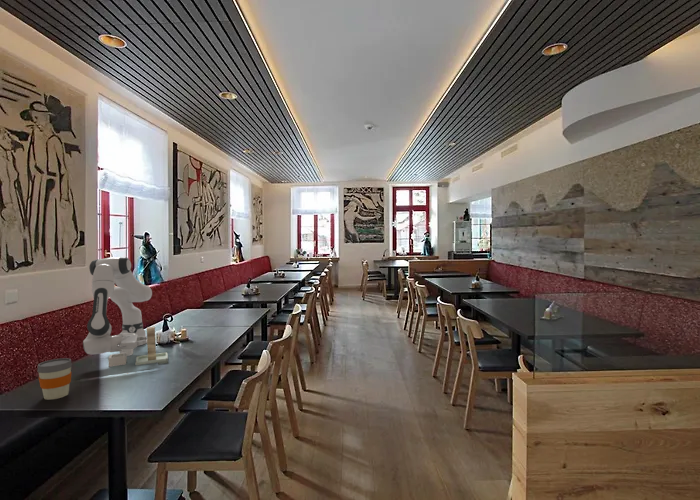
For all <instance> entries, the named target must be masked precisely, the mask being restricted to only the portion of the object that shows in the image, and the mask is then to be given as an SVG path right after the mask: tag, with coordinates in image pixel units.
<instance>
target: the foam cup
mask: <svg viewBox="0 0 700 500" xmlns="http://www.w3.org/2000/svg"><path fill="white" fill-rule="evenodd" d="M133 334H135V333H123V335H133ZM118 353H119V354H120V353H126V354H127V357H131V356H132V355H133V354H134V349H122V351H118Z"/></svg>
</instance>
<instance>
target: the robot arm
mask: <svg viewBox="0 0 700 500" xmlns="http://www.w3.org/2000/svg"><path fill="white" fill-rule="evenodd" d="M88 267H89V273H90V275H91V276H92V280H91V292H92V297H93V303H92V304H93V305H92V306H93V307H92V314H91V316H90V318H89V319H88V321H87V326H86V329H87V331H88V334H87V336H86V338H84V340H82V347H83V350H84V352H85V353H86V355H100V354H105V353H119V351H122V349H133V350H134V349H137V347H139V346H142V345H143V346H144V345H145V344H146V345H147V332H146V330H145V329H144V323H143V319H142V318H143V317H142V311H141V309H140V308H138V307H136V306H135V305H134V304H133V303H144V302H147V301H149V300H151V298H152V296H153V290H152V288H151V287H150V285H149V286H148V285H146V284H143V283H142V282H140V281H139V280H138V279H137V278H136V277H135V275H134V273H133V272H132V262H131V259H130V258H128V257H126V256H116V257H115V256H111V257H106V258H105V257H104V258H101V259H99V258H97V259H94V260H92V261H91V262H90V264H89V266H88ZM115 285H116V286H115ZM109 299H110V300H111V301H112V302H113V303H115V304H116V305H117V306H118V308H119V309H120V312H121V315H122V325H121V328H122V331H121V332H120V333H119V334H115V335H111V334H112V329H113V328H112V325H111V323H110V320H109V318H108V316H107V307H108V300H109ZM123 333H135V334H133V335H123Z"/></svg>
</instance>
